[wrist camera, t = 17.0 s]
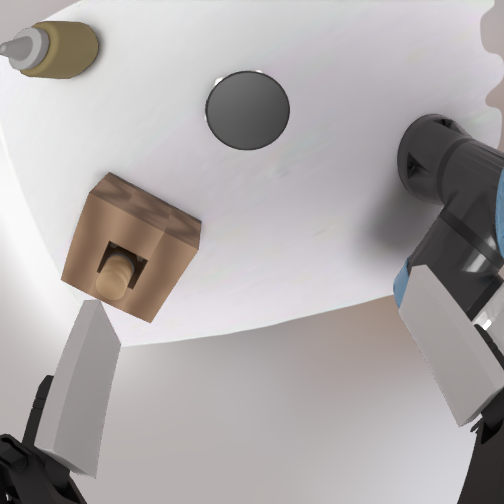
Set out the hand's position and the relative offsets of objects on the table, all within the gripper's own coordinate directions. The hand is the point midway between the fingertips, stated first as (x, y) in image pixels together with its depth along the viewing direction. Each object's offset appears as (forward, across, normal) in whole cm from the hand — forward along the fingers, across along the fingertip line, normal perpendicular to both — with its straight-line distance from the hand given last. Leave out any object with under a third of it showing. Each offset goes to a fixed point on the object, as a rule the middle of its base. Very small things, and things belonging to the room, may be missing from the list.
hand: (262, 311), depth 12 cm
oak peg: (+32, -17, -14) cm, 38 cm away
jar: (+33, +2, +5) cm, 33 cm away
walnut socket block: (+33, -17, -14) cm, 39 cm away
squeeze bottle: (+33, -20, +17) cm, 42 cm away
